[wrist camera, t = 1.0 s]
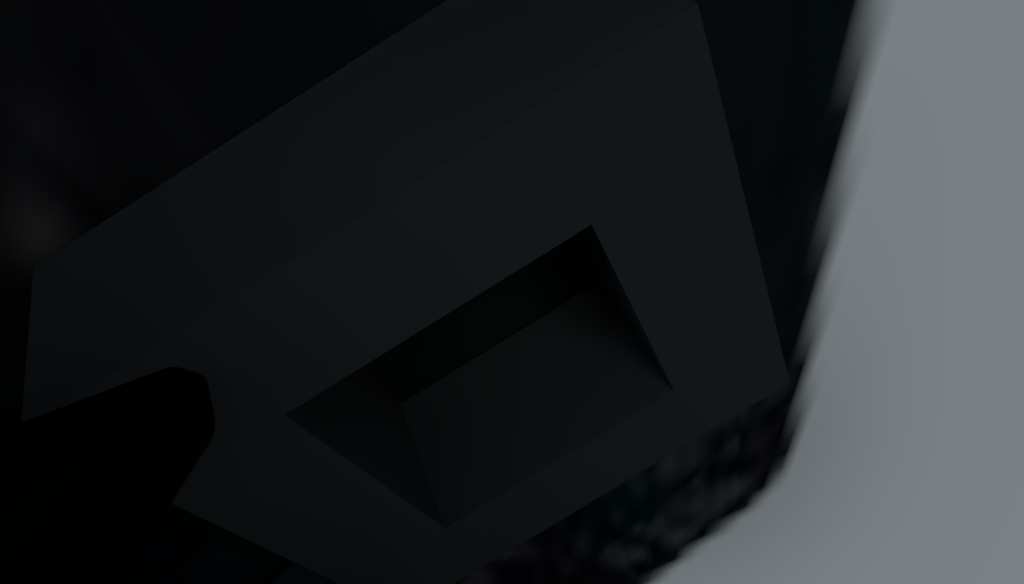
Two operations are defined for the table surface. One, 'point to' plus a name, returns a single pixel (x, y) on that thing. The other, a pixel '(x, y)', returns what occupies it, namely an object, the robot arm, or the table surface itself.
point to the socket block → (436, 287)
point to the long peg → (302, 576)
